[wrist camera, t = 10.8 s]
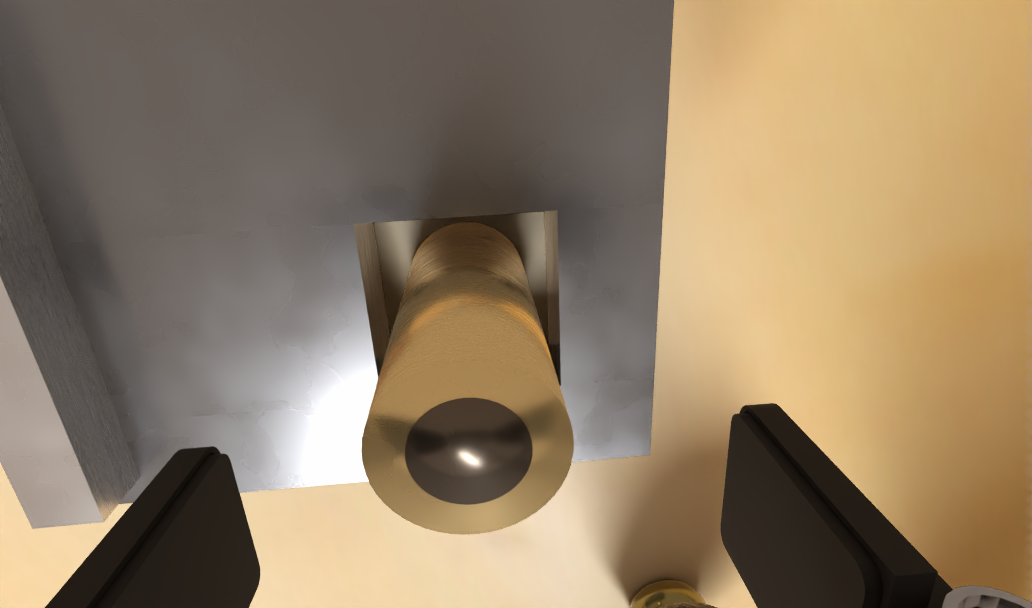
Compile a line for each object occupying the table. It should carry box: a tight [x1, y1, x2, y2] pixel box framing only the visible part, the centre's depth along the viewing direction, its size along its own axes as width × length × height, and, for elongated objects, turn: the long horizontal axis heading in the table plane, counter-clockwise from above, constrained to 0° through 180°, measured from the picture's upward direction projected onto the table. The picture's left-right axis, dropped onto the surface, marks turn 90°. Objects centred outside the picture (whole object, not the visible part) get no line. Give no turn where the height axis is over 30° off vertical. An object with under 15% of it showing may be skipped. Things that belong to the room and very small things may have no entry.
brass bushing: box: [361, 222, 574, 534], centre depth 15 cm, size 4×4×10 cm
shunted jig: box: [0, 0, 674, 529], centre depth 17 cm, size 16×20×5 cm
